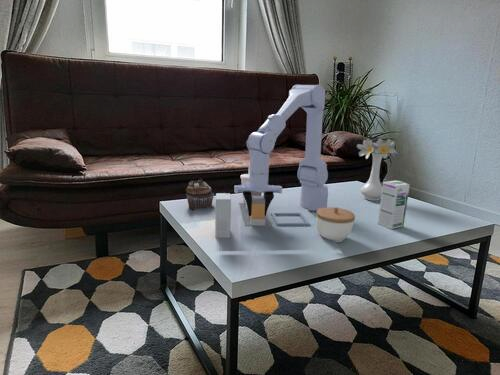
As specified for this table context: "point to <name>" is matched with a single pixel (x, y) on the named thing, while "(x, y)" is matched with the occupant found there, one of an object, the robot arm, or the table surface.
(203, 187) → the cupcake
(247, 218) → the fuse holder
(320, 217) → the lidded jar
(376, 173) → the flower vase
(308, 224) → the tray
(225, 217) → the skincare box
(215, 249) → the table surface
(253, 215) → the block
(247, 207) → the block
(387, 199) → the syrup box
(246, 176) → the smoothie
